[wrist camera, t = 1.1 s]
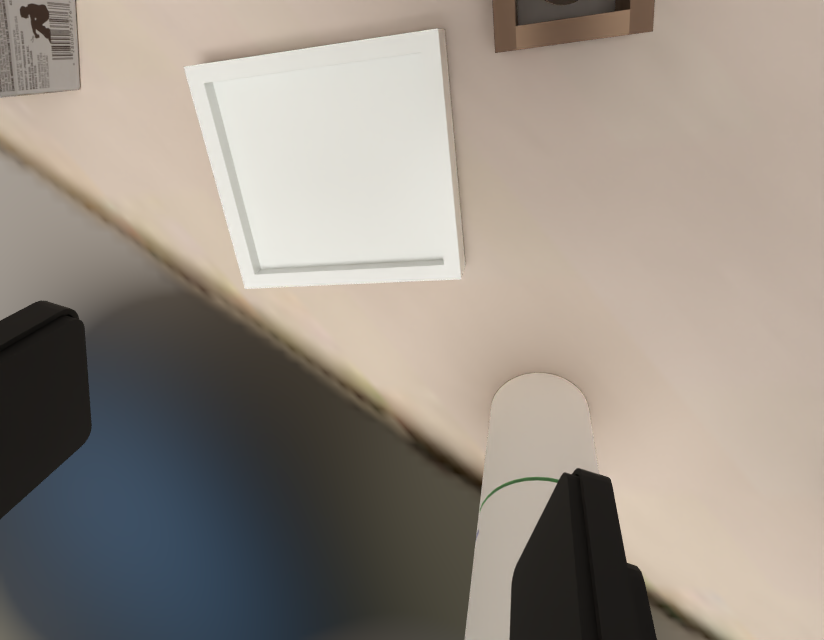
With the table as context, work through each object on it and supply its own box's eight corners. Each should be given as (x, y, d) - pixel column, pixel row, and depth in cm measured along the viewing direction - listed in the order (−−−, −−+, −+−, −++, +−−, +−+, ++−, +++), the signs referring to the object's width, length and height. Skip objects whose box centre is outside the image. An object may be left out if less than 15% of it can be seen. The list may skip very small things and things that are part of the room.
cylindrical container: (487, 445, 43) (441, 868, 21) (493, 368, 39) (447, 770, 18) (582, 457, 41) (639, 919, 20) (596, 378, 38) (683, 824, 16)
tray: (444, 29, 30) (438, 28, 28) (465, 265, 36) (461, 279, 34) (206, 65, 34) (183, 66, 32) (260, 275, 40) (245, 288, 38)
